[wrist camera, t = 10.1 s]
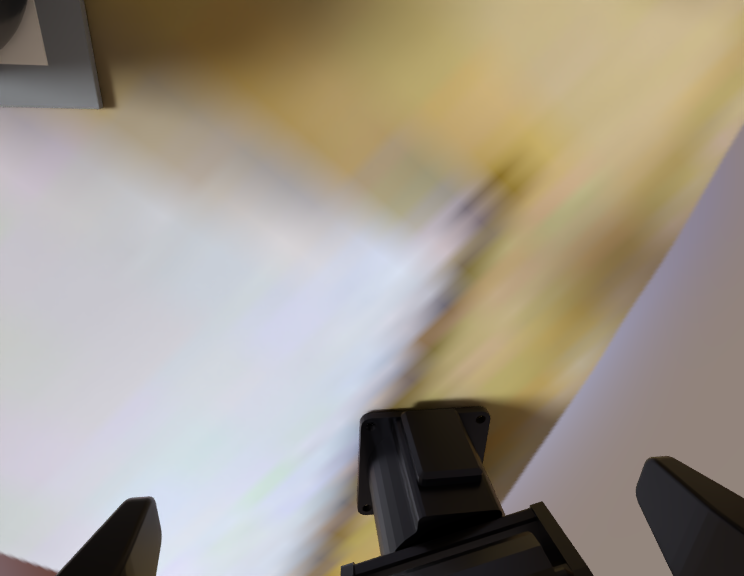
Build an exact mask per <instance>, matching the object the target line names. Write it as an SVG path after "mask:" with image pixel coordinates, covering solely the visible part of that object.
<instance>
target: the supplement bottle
mask: <svg viewBox="0 0 744 576" xmlns="http://www.w3.org/2000/svg"><path fill="white" fill-rule="evenodd" d="M27 1H28V0H0V50H1V49H2V48H3V47H4V46H5V45H6V44H7V43H8V42H9V41H10V39H11V38H12V37H13V35H14V34H15V32H16V31H17V29H18V27H19V25H20V23H21V21H22V18H23V16H24V13H25V10H26V5H27Z"/></svg>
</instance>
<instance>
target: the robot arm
mask: <svg viewBox="0 0 744 576" xmlns="http://www.w3.org/2000/svg"><path fill="white" fill-rule="evenodd" d="M481 415H482V417H480V418H477V417H478V416H481ZM371 422H372V423H374V424H372V425H367V424H368V423H371ZM489 424H490V415H489V413H488V411H487V409H486V408H484V407H481V406H477V407H461V408H444V409H427V410H411V411H394V412H378V413H368V414H365V415H363V416H362V418H361V419H360V429H359V457H358V486H357V507H358V512H359V513H360V514H363V515H372V514H374V518H375V524H376V530H377V535H378V541H379V547H380V553H381V556H379V557H376V558H373V559H370V560H367V561H364V562H361V563H358V564H355V563H354V562H353V563H350V564H347V565H344V566H341V576H593V574H592V572H591V571H590V569H589V568H588V566H587V565H586V563H585V562H584V560H583V559H582V558H581V556H580V555H579V553H578V552H577V550H576V549H575V547H574V546H573V545H572V543H571V542H570V540H569V539H568V537H567V536H566V535H565V533H564V532H563V530H562V529H561V527H560V526H559V525H558V523H557V522H556V520H555V519H554V517H553V516H552V515H551V513H550V511H549V510H548V509H547V507H546V506H545V504H544V503H543V502H539V503H535V504H532V505H530V508H528V509H525V510H522V511H519V512H516V513H513V514H509V515H506V516H505V513H504V511H503V509H502V507H501V504H500V502H499V500H498V498H497V495H496V493H495V491H494V489H493V487H492V484H491V482H490V480H489V478H488V475H487V473H486V471H485V469H484V466H483V458H484V452H485V446H486V441H487V435H488V429H489ZM636 497H637V500H638V503H639V505H640V507H641V509H642V511H643V514H644V516H645V518H646V520H647V522H648V524H649V526H650V528H651V530H652V532H653V534H654V537H655V539H656V541H657V543H658V545H659V547H660V549H661V551H662V553H663V556H664V558H665V560H666V562H667V564H668V566H669V568H670V570H671V572H672V574H673V576H744V498H742V497H741V496H739V495H737V494H736V493H734V492H732V491H730V490H729V489H727V488H725V487H723V486H722V485H720V484H718V483H716V482H715V481H713V480H711V479H709V478H708V477H706V476H704V475H703V474H701V473H699V472H697V471H696V470H694V469H692V468H690V467H688V466H687V465H685V464H683V463H682V462H680V461H678V460H676V459H674V458H672V457H669V456H661V457H651V458H649V459H647V460H646V462H645V464H644V467H643V470H642V472H641V475H640V478H639V481H638V483H637V486H636ZM365 505H367V506H365ZM161 537H162V534H161V526H160V521H159V516H158V511H157V506H156V502H155V500H154V498H153V497H150V496H148V497H135V498H129V499H127V500H126V501H124V502H123V503H122V504H121V505H120V506H119V508H118V509H117V510H116V511H115V512H114V513H113V514H112V515H111V516H110V517H109V518H108V519H107V521H106V522H105V523H104V524H103V525H102V526H101V527H100V528H99V529H98V530H97V531H96V532H95V534H94V535H93V536H92V537H91V538H90V539H89V540H88V541H87V542H86V543H85V544H84V545H83V547H82V548H81V549H80V550H79V551H78V552H77V553H76V554H75V555H74V556H73V557H72V558H71V560H70V561H69V562H68V563H67V564H66V565H65V566H64V567H63V568H62V569H61V570H60V571H59V573H58V574H57V575H56V576H156V572H157V566H158V560H159V553H160V547H161Z"/></svg>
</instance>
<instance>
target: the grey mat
mask: <svg viewBox="0 0 744 576" xmlns="http://www.w3.org/2000/svg"><path fill="white" fill-rule="evenodd" d="M0 107H36V108H79V109H101V108H103V104H102V98H101V93H100V87H99V82H98V76H97V70H96V65H95V59H94V54H93V48H92V43H91V37H90V32H89V26H88V21H87V15H86V10H85V4H84V0H28V1H27V5H26V10H25V13H24V16H23V18H22V21H21V23H20V25H19V27H18V29H17V31H16V32H15V34H14V35H13V37H12V38H11V39H10V41H9V42H8V43H7V44H6V45H5V46H4V47H3V48H2V49H1V50H0Z"/></svg>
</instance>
